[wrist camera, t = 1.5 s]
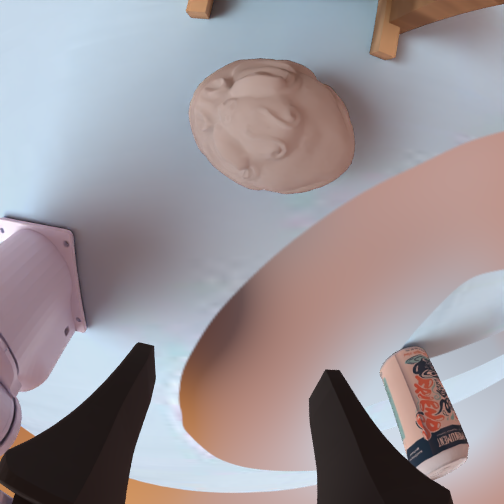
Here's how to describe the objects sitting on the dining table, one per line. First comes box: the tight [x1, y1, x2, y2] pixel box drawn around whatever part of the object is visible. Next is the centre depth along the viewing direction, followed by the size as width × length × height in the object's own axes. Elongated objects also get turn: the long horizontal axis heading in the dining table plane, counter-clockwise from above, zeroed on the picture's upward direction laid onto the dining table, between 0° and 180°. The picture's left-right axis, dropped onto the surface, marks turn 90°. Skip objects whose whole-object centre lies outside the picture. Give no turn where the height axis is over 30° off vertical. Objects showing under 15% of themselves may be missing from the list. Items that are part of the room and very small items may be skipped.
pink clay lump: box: [189, 58, 355, 194], centre depth 12 cm, size 6×7×7 cm
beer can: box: [380, 346, 469, 480], centre depth 19 cm, size 5×5×12 cm
